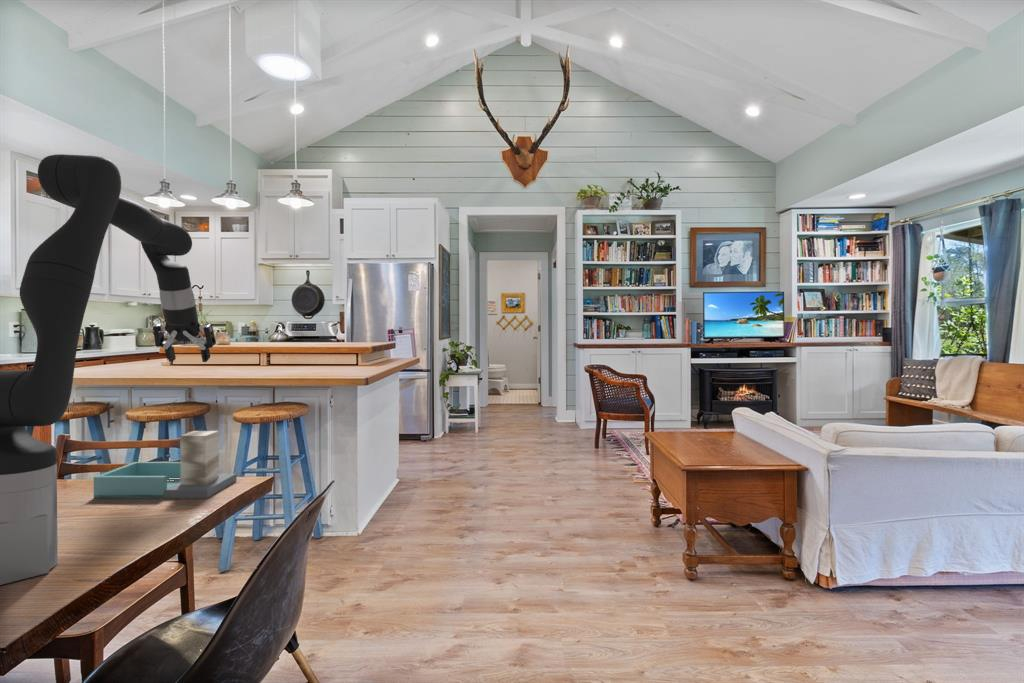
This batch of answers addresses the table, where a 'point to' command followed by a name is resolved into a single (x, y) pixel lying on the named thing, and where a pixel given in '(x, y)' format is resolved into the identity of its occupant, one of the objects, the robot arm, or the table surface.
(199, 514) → the table surface
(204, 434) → the block
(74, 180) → the robot arm
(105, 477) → the box
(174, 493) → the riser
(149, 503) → the table surface
